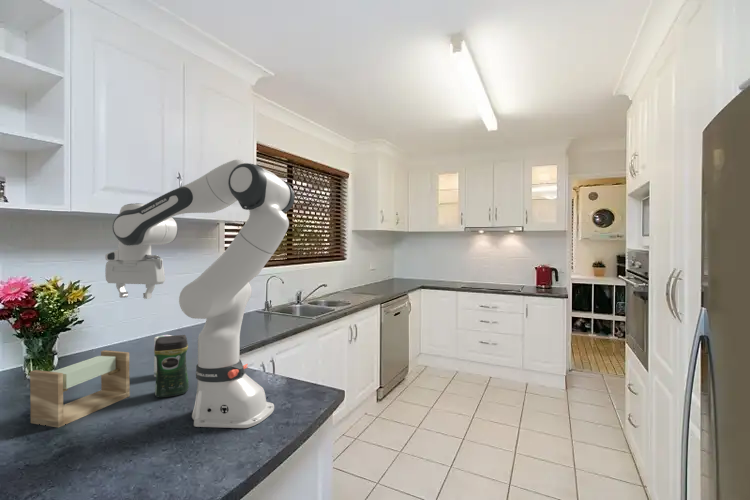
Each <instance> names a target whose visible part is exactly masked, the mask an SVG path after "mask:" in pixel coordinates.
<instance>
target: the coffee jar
mask: <svg viewBox="0 0 750 500" xmlns="http://www.w3.org/2000/svg"><path fill="white" fill-rule="evenodd" d="M188 349H189V344H188V339H187V335H185V334H177V335H172V336H166V337H159V338H157V340H156V343H155V349H154V348H153V354H154V353H155V355H156V358H157V372H156V377H155V384H154V385H155V386H154V395H155V396H156V397H157V398H168V397H174V396H175V397H176V396H179V395H183V394H186V392H188V391H189V387H190V385H189V375H188V369H187V368H188V367H187V351H188Z"/></svg>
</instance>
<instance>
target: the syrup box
mask: <svg viewBox="0 0 750 500" xmlns="http://www.w3.org/2000/svg"><path fill="white" fill-rule="evenodd" d="M166 336H173V335H172V334H171V335H170V334H163V335H158V336H155V337H153V340H154V341H153V343H154V344H153V345H154V346H153V350H154V349H155V343H156V340H157V338H159V337H166ZM156 372H157V358H156V355H155V353H154V352H153V377H154V378H156Z"/></svg>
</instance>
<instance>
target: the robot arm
mask: <svg viewBox="0 0 750 500" xmlns="http://www.w3.org/2000/svg"><path fill="white" fill-rule="evenodd" d="M295 198H296V197H295V192H294V190H293V188H292V186H291V185H290V184H289V183H288V182H287V181H285V180H283V179H281V178H280V177H279V176H277V175H276V174H275V173H274V172H271V171H269V170H267V169H265V168H263V167H261V166H259V165H257V164H254V163H250V162H249V163H248V162H246V161H244V160H241V159H233V160H230V161H228V162H226V163H223V164H221V165H218V166H217V167H214V168H213V169H212V170H210V171H209V172H207V173H205V174H204V175H202V176H201V177H199V178H197V179H195V180H193V181H191V182H189V183H187V184H185V185H183V186H180V187H177V188H175V189H172V190H170V191H168V192H166V193H164V194H162V195H160V196H159V197H157V198H155V199H153V200H151V201H149V202H147V203H137V202H136V203H128V204H124V205H123V206H122V207H121V208H120V210H119V213H118V215H117V216H116V217H115V218H114V220H113V222H112V223H113V224H112V232H113V235H114V236H115V238H116V239H117V241H118V245H117V247H118V249H115V250H113V251H110V252H108V253H106V254H105V261H106V264H105V271H104V272H105V276H104V277H105V281H106V282H107V284H115V288H116V289H117V291H118V292H119V294H118V295H119V298H122V299H123V298H124V299H125V298H128V297H129V295H128V294H129V291H126V288H125V287H126V285H145V289H146V290H145V291H144V292H143V293H142V296H143V297H142V298H143V299H144V300H146V299H147V300H149V299H152V295H153V294H152V293H153V291H154V290H155V287H156V285H163V284H164V283H165V280H166V277H165V275H166V274H165V268H164V264H163V258H162V257H161V256H159V254H152V245H167V244H171V243H173V241H175V240H176V238H177V237H178V232H179V226H178V223H177V221H176V220H175V218H174V217H175V216H178V215H184V214H203V213H204V214H207V213H208V214H213V213H216V212H218V211H222V210H224V209H226V208H228V207H230V206H232V205H233V204H235V203H236V202H238V204H239V205H240V208H242V210H246V211H247V210H248V211H249V216H248V219H247V220H246V222H245V224H244V225H243V226H242V227H241V228H240V230H239V232H238V233H237V234H236V236H235V237H234V239H233V240H231V243H230V244H229V245H228V247H227V248H226V250H225V251H224V252H223V253H222V254H221V255H220V256H219V257H218V258H217V259H216V260H215V261H214V262H213V263H212V264H211V265H210V266H208V268H206V269H205V270H204V272H202V273H201V274H200V275H199V276H198V277H197V278H195V279H194V280H193V281H191V282H190V283H188V284H187V285H185V286H184V287H183V288H182V289H181V291H180V293H179V297H178V303H179V308H180V309H181V312H183V313H184V315H186V317H189V318H191V319H198V320H199V319H200V320H201V319H202V320H204V319H205V323H204V325H203V328H202V330H201V331H200V332H199V334H198V338H197V364H196V368H195V370H196V371H195V379H197V385H196V395H195V402H194V406H193V411H192V412H191V418H192V420H193V427H197V428H200V427H201V428H225V429H226V428H231V429H247V428H248V429H249V428H251V427H254V426H256V425H258V424H260V423H261V422H263V421H264V420H266V419H268V417H269V416H270V415H272V413H273V412H274V411H275V404H274V403H273V402H269V401H267V398H266V397H267V396H266V393H265V392H266V391H265V390H264V387H262V386H261V385H260V384H258V382H256V381H255V380H254V379H252V377H250V376H248V374H247V373H246V370H245V369H247V368H248V365H249V364H248V363H246V364H244V365H243V362H242V360H241V359H240V350H241V349H240V342H241V341H240V338H241V328H242V323H243V319H244V314H245V310H246V307H247V305H248V302H249V300H250V299H251V297H252V285H251V284H250V281H252V280H253V279H254V278H256V277H257V276H258V275H259V274H260V273H261V271H262V270H263V269H264V267H265V266H266V264H267V263H268V262H269V260H270V259H271V257H272V256H273V255H274V254H275V252H276V251H277V249H278V248H279V246H280V245H281V243H282V241H283V239H284V237H285V235H286V233H287V231H288V229H289V227H290V220H289V218H288V216H287V215H286V213H287V212H288V211H289V210H291V208H292V207H293V205H294V202H295Z"/></svg>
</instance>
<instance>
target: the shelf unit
mask: <svg viewBox="0 0 750 500" xmlns="http://www.w3.org/2000/svg"><path fill="white" fill-rule="evenodd" d="M100 356H113V357H115V360H116V369H115V370H113V371H110V372H108V373H105V374H103V375H100V383H101V384H100V390H98V391H95V392H93V393H90V394H88V395H85V396H83V397H80V398H78V399H75V400H72V401H70V402H68V403H65V404H64V392H67V391H68V390H69V388H67V389H63V373H58V372H52V371H47V370H39V369H38V370H37V369H34V370H30V371H29V379H30V380H29V382H30V383H29V387H30V389H29V390H30V393H29V394H30V395H29V396H30V397H29V398H30V405H29V406H30V424H34V425H39V424H40V426H45V425H46V426H45V427H54V428H60V427H64V426H66V425H68V424H70V423H72V422H75V421H77V420H79V419H82V418H83V417H86V416H89V415H91V414H93V413H95V412H98V411H99V410H102V409H104V408H107V407H108V406H111V405H113V404H115V403H118V402H120V401H122V400H124V399H127V398H129V397H130V395H131V394H130V393H131V392H130V391H131V390H130V389H131V388H130V385H131V384H130V380H131V379H130V352H128V351H127V352H126V351H117V350H104V349H103V350H101V351H100ZM65 424H66V425H65Z"/></svg>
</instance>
